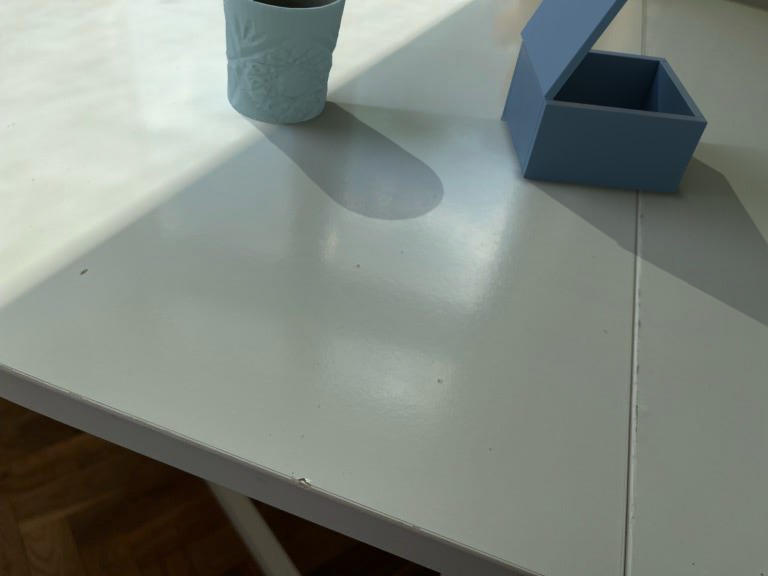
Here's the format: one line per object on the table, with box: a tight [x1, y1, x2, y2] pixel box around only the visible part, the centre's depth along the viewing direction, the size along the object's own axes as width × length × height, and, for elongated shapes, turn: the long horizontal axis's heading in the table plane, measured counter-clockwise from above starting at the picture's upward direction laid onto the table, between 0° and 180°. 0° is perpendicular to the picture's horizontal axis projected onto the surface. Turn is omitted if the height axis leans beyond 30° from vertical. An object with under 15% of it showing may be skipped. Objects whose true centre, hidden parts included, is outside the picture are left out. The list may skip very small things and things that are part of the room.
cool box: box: [500, 40, 709, 194], centre depth 70 cm, size 14×12×8 cm
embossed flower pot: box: [222, 0, 347, 125], centre depth 67 cm, size 10×10×12 cm
